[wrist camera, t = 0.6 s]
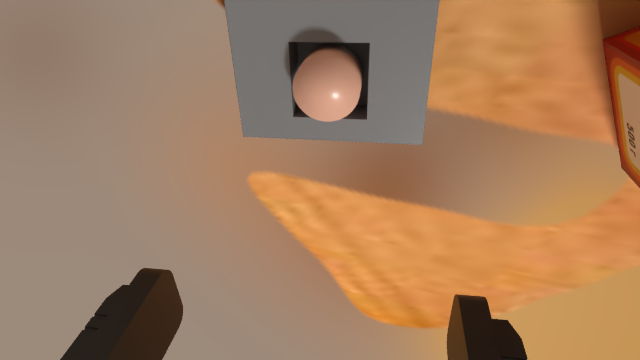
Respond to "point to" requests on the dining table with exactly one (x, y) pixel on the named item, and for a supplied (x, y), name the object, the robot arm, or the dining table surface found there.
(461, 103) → the dining table surface
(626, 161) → the baking soda box
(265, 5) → the button console
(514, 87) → the dining table surface
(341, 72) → the terracotta button
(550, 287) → the dining table surface
